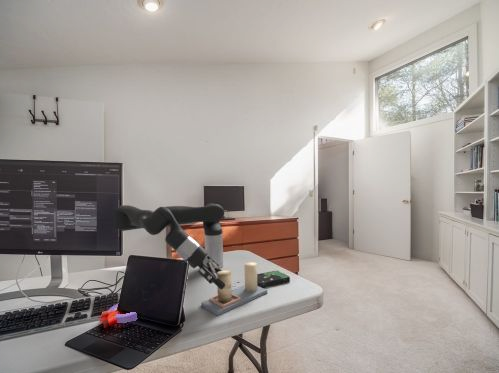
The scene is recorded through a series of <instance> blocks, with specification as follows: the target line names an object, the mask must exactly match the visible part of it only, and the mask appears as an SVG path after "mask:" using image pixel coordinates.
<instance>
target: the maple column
mask: <svg viewBox="0 0 499 373" xmlns="http://www.w3.org/2000/svg"><path fill="white" fill-rule="evenodd" d="M216 275H217V277H218V278H219V279H220V280H222V281H223V282H224V283H225V287H224V288H223V289H220V288H219V287H218V286H217V285H216V288H217V295H218V302H220V303H228V302H230V301H232V293H231V290H232V272H231V271H230V270H222V271H219V272H217V274H216Z"/></svg>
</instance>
